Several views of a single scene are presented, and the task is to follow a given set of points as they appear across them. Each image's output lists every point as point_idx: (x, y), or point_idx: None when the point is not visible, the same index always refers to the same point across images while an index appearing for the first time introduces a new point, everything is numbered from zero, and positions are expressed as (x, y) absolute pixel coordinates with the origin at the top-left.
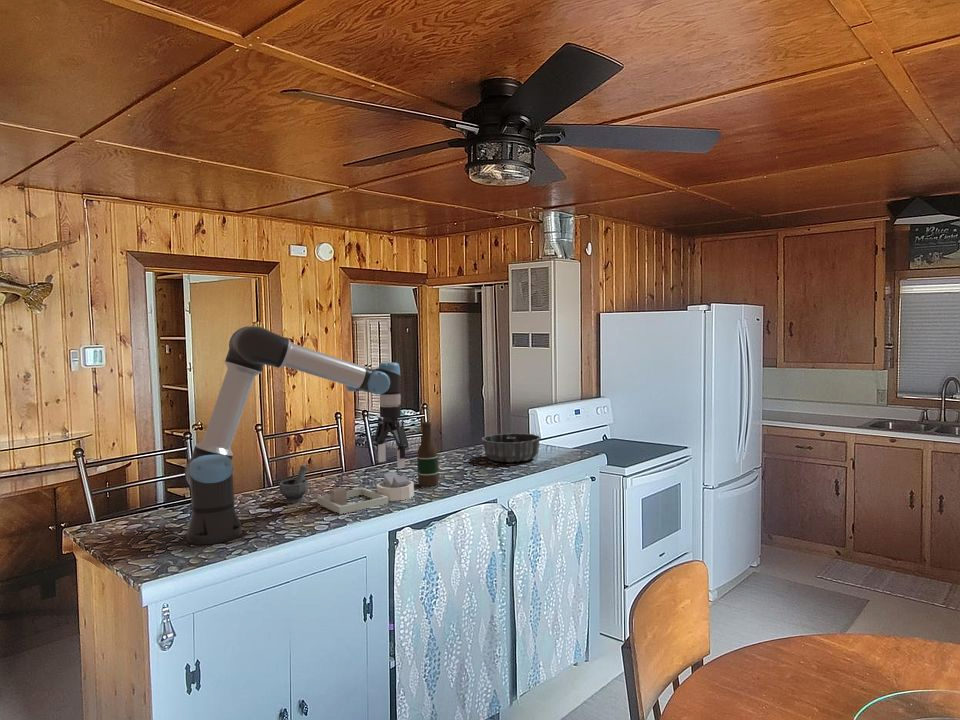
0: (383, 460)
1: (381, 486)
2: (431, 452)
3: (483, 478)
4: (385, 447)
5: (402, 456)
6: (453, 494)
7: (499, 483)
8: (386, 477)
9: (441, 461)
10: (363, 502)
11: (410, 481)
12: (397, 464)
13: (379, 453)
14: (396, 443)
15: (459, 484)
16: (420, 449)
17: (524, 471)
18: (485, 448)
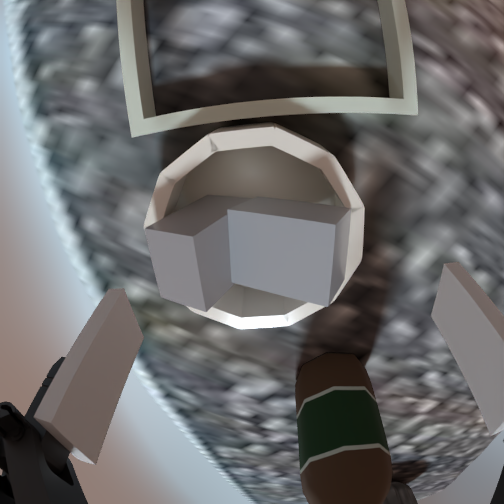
0: (440, 305)
1: (244, 147)
2: (306, 490)
3: (274, 457)
4: (478, 406)
5: (52, 377)
6: (156, 371)
7: (207, 455)
8: (297, 219)
9: (471, 430)
10: (117, 6)
11: (250, 320)
12: (111, 307)
13: (483, 318)
14: (43, 489)
15: (260, 420)
16: (352, 486)
17: (267, 490)
18: (394, 497)
